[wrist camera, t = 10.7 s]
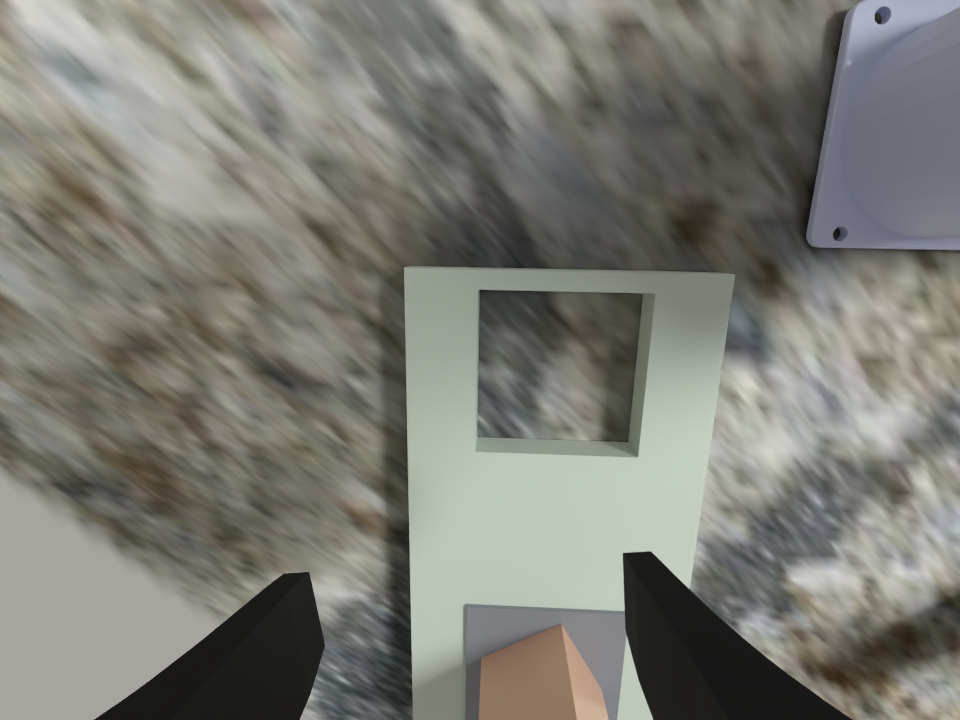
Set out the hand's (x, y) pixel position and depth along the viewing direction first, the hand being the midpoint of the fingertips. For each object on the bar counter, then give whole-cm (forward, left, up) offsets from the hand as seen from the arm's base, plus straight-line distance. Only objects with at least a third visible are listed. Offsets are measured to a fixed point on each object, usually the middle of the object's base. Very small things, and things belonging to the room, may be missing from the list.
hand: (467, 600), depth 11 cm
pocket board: (-3, +4, -10) cm, 11 cm away
